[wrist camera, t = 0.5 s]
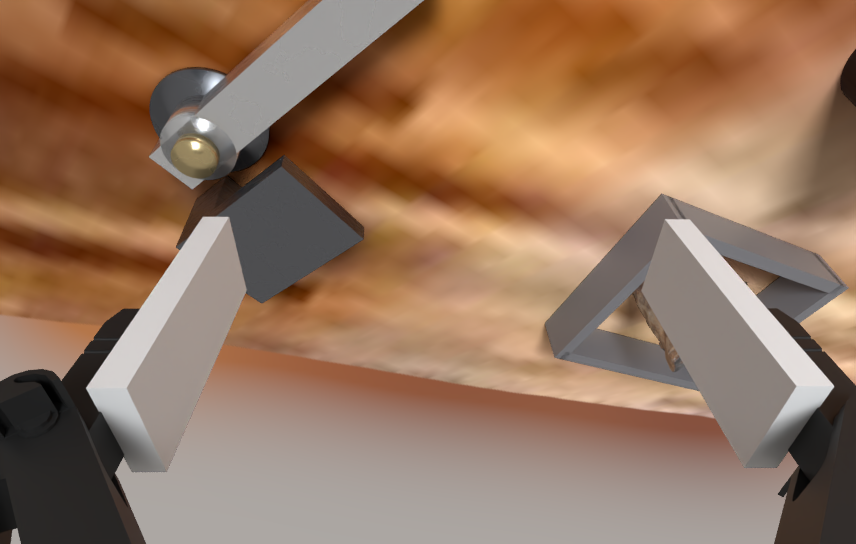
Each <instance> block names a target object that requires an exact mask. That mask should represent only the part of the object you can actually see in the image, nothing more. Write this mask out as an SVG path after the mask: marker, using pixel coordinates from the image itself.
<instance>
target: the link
mask: <svg viewBox="0 0 856 544" xmlns="http://www.w3.org/2000/svg"><path fill="white" fill-rule="evenodd" d="M422 1H424V0H308V1H307V2H306V3H305V4H304V5H303V6H302V7H301V8H299V9H298V10H297V11H296V12H295V13H294V14H293V15H292V16H291V17H290V18H288V19H287V20H286V21H285V22H284V23H283V24H282V25H281V26H280V27H279V28H278V29H276V30H275V31H274V32H273V33H272V34H271V35H270V36H269V37H268V38H267V39H266V40H264V41H263V42H262V43H261V44H260V45H259V46H258V47H257V48H256V49H255V50H254V51H252V52H251V53H250V54H249V55H248V56H247V57H246V58H245V59H244V60H243V61H241V62H240V63H239V64H238V65H237V66H236V67H235V68H234V69H233V70H232V71H231V72H229V73H228V74H227V75H226V76H225V77H224V78H223V79H222V80H221V81H220V82H219V83H217V84H216V85H215V86H214V87H213V88H212V89H211V90H210V91H209V92H208V93H207V94H205V95H194V96H190V97H187V98H185V99H183V100H182V101H181V102H180V103H179V104H178V105H177V106H176V108H175V110H174V111H173V113H172V115H171V116H170V118H169V120H168V121H167V123H166V125H165V126H164V128H163V129H162V132H161V135H160V139H159V140H158V142H157V144H156V145H155V147H154V149H153V150H152V152H151V154H150V155H149V157H150V158H151V159H152V160H154V161H155V162H156V163H158V164H159V165H160V166H162V167H163V168H164V169H166V170H167V171H168V172H170V173H171V174H172V175H174V176H175V177H176V178H178V179H179V180H180V181H182V182H183V183H184V184H186V185H187V186H188V187H190V188H191V189H194V188H195V187H196V186H197V185H199V184H200V183H201V182H202V181H203V180H214V179H219V178H222V177H224V176H226V175H227V174H229V173H230V172H231V171H232V169H233V168H234V166H235V163H236V161H237V158H238V155H239V153H240V150H241V149H243V148H244V147H245V146H246V145H247V144H249V143H250V142H251V141H252V140H254V139H255V138H256V137H257V136H258V135H260V134H261V133H262V132H263V131H265V130H266V129H267V128H268V127H269V126H271V125H272V124H273V123H274V122H276V121H277V120H278V119H279V118H280V117H282V116H283V115H284V114H285V113H287V112H288V111H289V110H290V109H291V108H293V107H294V106H295V105H296V104H298V103H299V102H300V101H301V100H302V99H304V98H305V97H306V96H307V95H309V94H310V93H311V92H312V91H313V90H315V89H316V88H317V87H318V86H320V85H321V84H322V83H323V82H325V81H326V80H327V79H328V78H329V77H331V76H332V75H333V74H334V73H336V72H337V71H338V70H339V69H340V68H342V67H343V66H344V65H345V64H347V63H348V62H349V61H350V60H351V59H353V58H354V57H355V56H356V55H358V54H359V53H360V52H361V51H362V50H364V49H365V48H366V47H367V46H369V45H370V44H371V43H372V42H373V41H375V40H376V39H377V38H378V37H380V36H381V35H382V34H383V33H384V32H386V31H387V30H388V29H389V28H391V27H392V26H393V25H394V24H395V23H397V22H398V21H399V20H400V19H402V18H403V17H404V16H405V15H406V14H408V13H409V12H410V11H411V10H413V9H414V8H415V7H416V6H417V5H419V4H420V3H421V2H422ZM188 133H195V134H200V135H203V136H205V137H207V138H209V139H210V140H211V141H212V142H213V143H214V144H215V145H216V146H217V148H218V150H219V153H220V160H219V163H218V165H217V168H216V170H215V172H214V173H213V174H212V175H211V176H209V177H207V178H202V179H197V178H192V177H189V176H186V175H184V174H183V173H181V172H180V171H179V170H178V169H177V168H176V167H175V166H174V165H173V163H172V161H171V156H170V155H171V150H172V148H173V146H174V144H175V143H176V141H177V139H178V138H179V137H180V136H182V135H184V134H188Z"/></svg>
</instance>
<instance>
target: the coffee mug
mask: <svg viewBox="0 0 856 544" xmlns="http://www.w3.org/2000/svg"><path fill="white" fill-rule="evenodd" d="M841 89H842V91H843V93H844V95H845V96H846V97H847V98H848V99H849V100H850V101H851V102H852V103H853V104H854V105H855V106H856V49H855V51H854V52H853V54H852V55H851V56H850V58H849V59H848V61H847V63H846V65H845V67H844V69H843V72H842V75H841Z"/></svg>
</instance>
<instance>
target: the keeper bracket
mask: <svg viewBox="0 0 856 544" xmlns="http://www.w3.org/2000/svg"><path fill="white" fill-rule="evenodd" d="M226 75H227V74H225V73H222V72H220V71H217V70H213V69H209V68H201V67H190V68H184V69H179V70H177V71H174V72H172V73H170V74H168V75H167V76H166V77H164V78H163V79H162V80H161V81H160V82H159V84H158V85H157V86H156V88H155V90H154V91H153V94H152V96H151V100H150V116H151V121H152V124H153V126H154V129H155V131H156V133H157V134H158V136H159V138H160V135H161V132H162V129H163V128H164V126H165V125H166V123H167V121H168V120H169V118H170V116H171V115H172V113H173V111H174V110H175V108H176V106H177V105H178V104H179V103H180V102H181V101H182V100H183V99H185V98H187V97H190V96H194V95H205V94H207V93H208V92H209V91H210V90H211V89H212V88H213V87H214V86H215V85H216V84H217V83H219V82H220V81H221V80H222V79H223V78H224V77H225V76H226ZM269 130H270V128H269V127H268V128H267V129H266V130H265V131H263V132H262V133H261V134H260V135H258V136H257V137H256V138H255V139H254V140H252V141H251V142H250V143H249V144H247V145H246V146H245V147H244V148H243V149H241V150H240V153H239V155H238V158H237V161H236V163H235V166H234V168H233V169H232V171H231V172H234V171H239V170H242V169H245V168H247V167H249V166H251V165H252V164H254V163H255V162H256V161H257V160H259V159H260V157H261V156H262V155H263V153H264V151H265V149H266V147H267V144H268V141H269ZM170 156H171V161H172V163H173V165H174V166H175V167H176V168H177V169H178V170H179V171H180V172H181V173H183V174H184V175H186V176H189V177H192V178H197V179H202V178H207V177H209V176H211V175H212V174H213V173H214V172H215V170H216V168H217V165H218V163H219V160H220V153H219V150H218V148H217V146H216V145H215V144H214V143H213V142H212V141H211V140H210V139H209V138H207V137H205V136H203V135H200V134H195V133H188V134H184V135H182V136H180V137H179V138H178V139H177V141H176V143H175V144H174V146H173V148H172V150H171V155H170ZM202 217H229V219H230V223H231V227H232V231H233V235H234V240H235V244H236V248H237V252H238V256H239V260H240V265H241V269H242V273H243V277H244V281H245V285H246V294H248V295H249V296H251V297H253V298H254V299H256V300H257V301H259V302H260V303H263V302H265V301H267V300H268V299H270V298H271V297H273V296H275V295H276V294H278V293H279V292H281V291H282V290H284V289H286V288H287V287H289V286H290V285H292V284H294V283H295V282H297V281H298V280H300V279H301V278H303V277H305V276H306V275H308V274H309V273H311V272H312V271H314V270H316V269H317V268H319V267H320V266H322V265H324V264H325V263H327V262H328V261H330V260H331V259H333V258H335V257H336V256H338V255H339V254H341V253H343V252H344V251H346V250H347V249H349V248H350V247H352V246H354V245H355V244H357V243H358V242H360V241H361V240H363V239H364V227H363V226H362V225H361V224H360V223H359V222H358V221H357V220H356V219H355V218H353V217H352V216H351V215H350V214H349V213H348V212H347V211H346V210H345V209H344V208H342V207H341V206H340V205H339V204H338V203H337V202H336V201H335V200H334V199H332V198H331V197H330V196H329V195H328V194H327V193H326V192H325V191H324V190H323V189H321V188H320V187H319V186H318V185H317V184H316V183H315V182H314V181H313V180H312V179H310V178H309V177H308V176H307V175H306V174H305V173H304V172H303V171H302V170H300V169H299V168H298V167H297V166H296V165H295V164H294V163H293V162H292V161H291V160H289V159H288V158H287V157H286V156H285V155H283V156H282V157H281V158H280V159H278V160H277V161H276V162H274V163H273V164H272V165H270V166H269V167H268V168H267V169H265V170H264V171H263V172H261V173H260V174H259V175H258V176H256V177H255V178H254V179H252V180H251V181H250V182H249V183H247V184H246V185H245V186H243V187H241V186H239V185H238V184H237V183H236V182H234V181H233V180H232V179H231V178H229V177H228V176H227V175H226V176H225V177H224V178H222V179H221V180H220V181H219V182H217V183H216V184H215V185H214V186H212V187H211V188H210V189H209V190H207V191H206V192H205V193H204V194H202V195H201V196H200V197H199V198H197V199H196V201H195V204H194V206H193V208H192V211H191V213H190V215H189V218H188V220H187V222H186V225H185V227H184V229H183V232H182V234H181V236H180V239H179V241H178V243H177V245H176V248H178V249H179V250H181V248H182V247H183V245H184V244H185V242H186V241H187V239H188V238H189V237H190V235H191V234H192V232H193V231H194V229H195V228H196V226H197V225H198V223H199V222H200V220H201V219H202Z"/></svg>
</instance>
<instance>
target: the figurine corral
mask: <svg viewBox="0 0 856 544" xmlns="http://www.w3.org/2000/svg"><path fill="white" fill-rule="evenodd" d="M665 219H690V220H691V221H692V223H693V224H694V225H695V226H696V227H697V228H698V230H699V231H700V232H701V233H702V234H703V235H704V236H705V238H706V239H707V240H708V241H709V242H710V243H711V245H712V246H713V247H714V248H715V249H716V250H717V251H718V253H719V254H720V255H722V256H725V257H728V258H731V259H734V260H737V261H739V262H742V263H745V264H748V265H751V266H753V267H756V268H759V269H762V270H765V271H767V272H770V273H773V274H776V275H779V276H780V277H779V278H778V279H777V280H775V281H774V282H773V283H772V284H770V285H769V286H768V287H766V288H765V289H764V290H763V291H761V292H760V293H759V294H758V295H756V296H757V298H758V299H759V300H760V301H761V302H762V303H763V304H764V306H765V307H766V308H778V309H779V310H781V311H782V312H784V313H785V314H787V315H788V316H790V317H791V318H793V319H794V320H796V321H797V322H798V323H800V322H802V321H803V320H804V319H806V318H807V317H809V316H810V315H811V314H813V313H814V312H816V311H817V310H818V309H820V308H821V307H823V306H824V305H826V304H827V303H828V302H830V301H831V300H833V299H834V298H835V297H837V296H838V295H840V294H841V293H843V292H844V291H845V290H847V289H848V288H849V287H848V286H847V285H846V284H845V283H844V282H843V281H842V280H841V279H840V277H839V276H838V275H837V274H836V273H835V272H834V271H833V270H832V268H831V267H830V266H829V265H828V264H827V263H826V262H825V261H824V260H823V258H822V257H821V256H820V255H818V254H816V253H813V252H810V251H808V250H805V249H803V248H800V247H798V246H795V245H792V244H790V243H787V242H785V241H782V240H780V239H777V238H774V237H772V236H769V235H767V234H764V233H762V232H759V231H756V230H754V229H751V228H749V227H746V226H743V225H741V224H738V223H736V222H733V221H731V220H728V219H725V218H723V217H720V216H718V215H715V214H713V213H710V212H707V211H705V210H702V209H700V208H697V207H695V206H692V205H689V204H687V203H684V202H682V201H679V200H677V199H674V198H671V197H669V196H666V195H664V194H661V195H660V196H659V197H658V198H657V200H656V201H655V202H654V203H653V204H652V205H651V206H650V207H649V208H648V210H647V211H646V212H645V213H644V214H643V215H642V216H641V217H640V218H639V219H638V221H637V222H636V223H635V224H634V225H633V226H632V227H631V228H630V229H629V231H628V232H627V233H626V234H625V235H624V236H623V237H622V238H621V239H620V241H619V242H618V243H617V244H616V245H615V246H614V247H613V248H612V249H611V251H610V252H609V253H608V254H607V255H606V256H605V257H604V258H603V259H602V261H601V262H600V263H599V264H598V265H597V266H596V267H595V268H594V269H593V270H592V272H591V273H590V274H589V275H588V276H587V277H586V278H585V279H584V280H583V282H582V283H581V284H580V285H579V286H578V287H577V288H576V289H575V290H574V292H573V293H572V294H571V295H570V296H569V297H568V298H567V299H566V300H565V302H564V303H563V304H562V305H561V306H560V307H559V308H558V309H557V310H556V312H555V313H554V314H553V315H552V316H551V317H550V318H549V319H548V320H547V321H546V323H545V326H546V330H547V333H548V337H549V340H550V344H551V347H552V350H553V354H554V357H555V358H558V359H563V360H567V361H571V362H576V363H580V364H584V365H589V366H593V367H597V368H602V369H606V370H610V371H615V372H619V373H623V374H628V375H632V376H636V377H640V378H645V379H649V380H653V381H658V382H662V383H666V384H671V385H675V386H679V387H684V388H688V389H692V390H697V391H699V389H698V388H697V386H696V384H695V382H694V381H693V379H692V377H691V376H690V374H689V372H688V370H687V369H686V367H683V368H681V369H680V370H679V371H677V372H672V371H671V369H670V367H669V365H668V363H667V361H666V358H665V351H664V350H663V349H661V348H660V345H657V344H653V343H649V342H645V341H642V340H638V339H634V338H630V337H626V336H622V335H619V334H615V333H611V332H607V331H603V330H600V329H596V328H597V327H598V326H599V325H600V324H601V323H602V322H603V321H604V320H605V319H606V318H607V317H608V316H609V315H610V314H611V313H612V312H613V311H614V310H615V309H616V308H618V307H619V306H620V305H621V304H622V303H623V302H624V301H625V300H626V299H627V298H628V297H629V296H630V295H631V294H632V293H633V292H634V291H635V290H636V289H637V288H638V287H639V286H640V285H641V284H642V283H643V282H644V281H645V278H646V275H647V272H648V269H649V266H650V263H651V260H652V257H653V254H654V251H655V248H656V245H657V242H658V239H659V236H660V233H661V230H662V226H663V223H664V220H665Z"/></svg>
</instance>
